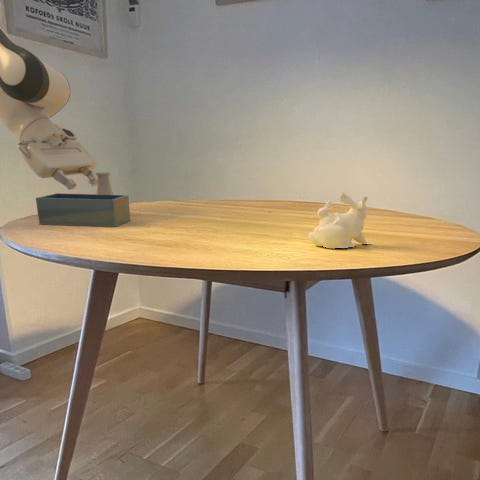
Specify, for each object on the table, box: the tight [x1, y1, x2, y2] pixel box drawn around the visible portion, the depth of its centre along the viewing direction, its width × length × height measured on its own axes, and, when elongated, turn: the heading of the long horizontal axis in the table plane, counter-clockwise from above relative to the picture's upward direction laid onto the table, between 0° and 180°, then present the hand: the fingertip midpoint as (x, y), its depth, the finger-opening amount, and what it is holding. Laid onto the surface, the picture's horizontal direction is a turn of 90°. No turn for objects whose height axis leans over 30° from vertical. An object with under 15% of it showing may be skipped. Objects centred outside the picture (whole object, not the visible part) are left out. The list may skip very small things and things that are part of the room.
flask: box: [95, 171, 114, 195], centre depth 111 cm, size 7×7×10 cm
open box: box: [35, 192, 131, 228], centre depth 103 cm, size 17×9×6 cm, turn 83°
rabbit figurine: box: [308, 191, 371, 249], centre depth 81 cm, size 12×8×10 cm, turn 89°
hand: (85, 185), depth 112 cm, fingers open, 8 cm apart
